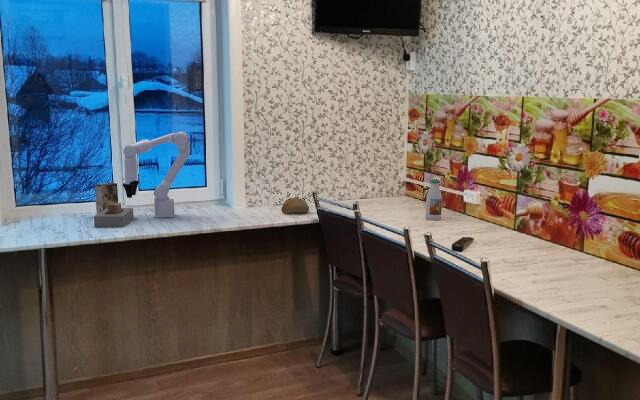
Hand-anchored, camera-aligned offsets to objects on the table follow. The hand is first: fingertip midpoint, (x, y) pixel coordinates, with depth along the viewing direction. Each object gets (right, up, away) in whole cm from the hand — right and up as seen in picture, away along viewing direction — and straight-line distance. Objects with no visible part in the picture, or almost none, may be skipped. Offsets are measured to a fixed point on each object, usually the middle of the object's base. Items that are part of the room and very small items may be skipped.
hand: (131, 196), depth 289 cm
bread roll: (+81, -9, +15) cm, 83 cm away
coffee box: (-14, -10, +6) cm, 18 cm away
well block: (-5, -12, -10) cm, 17 cm away
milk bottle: (+151, -12, +3) cm, 151 cm away
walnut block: (-4, -12, -10) cm, 17 cm away
